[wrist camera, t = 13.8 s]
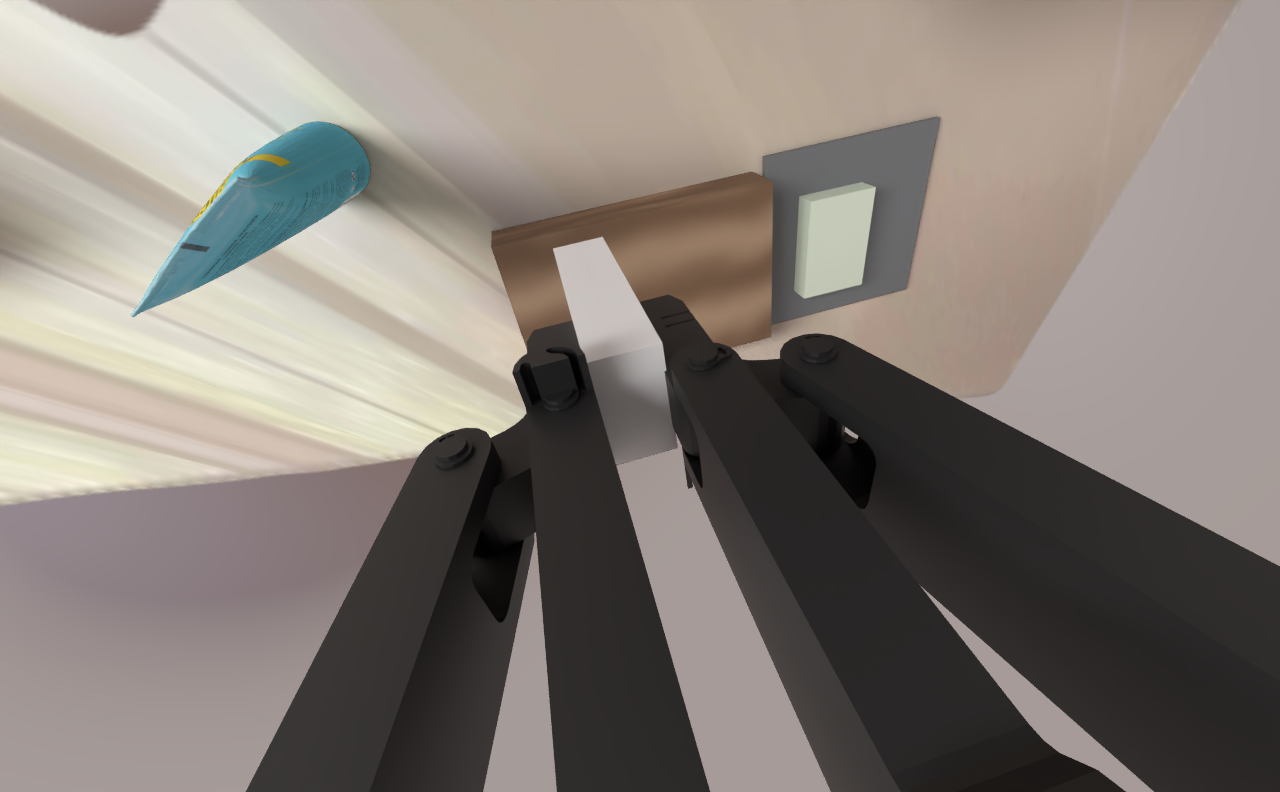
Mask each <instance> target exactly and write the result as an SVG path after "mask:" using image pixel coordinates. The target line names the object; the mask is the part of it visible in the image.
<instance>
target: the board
mask: <svg viewBox="0 0 1280 792" xmlns="http://www.w3.org/2000/svg"><path fill="white" fill-rule="evenodd" d="M772 228H773V182H772V181H770V180H768V179H766V178H764V177H762V176H760V175H757V174H755V173H753V172H748V173H744V174H740V175H735V176H731V177H727V178H722V179H718V180H714V181H709V182H705V183H701V184H696V185H692V186H688V187H683V188H679V189H675V190H670V191H666V192H662V193H657V194H653V195H649V196H644V197H640V198H636V199H631V200H627V201H623V202H618V203H614V204H610V205H605V206H601V207H597V208H592V209H588V210H584V211H579V212H575V213H571V214H566V215H562V216H558V217H553V218H549V219H545V220H540V221H536V222H532V223H527V224H523V225H519V226H514V227H510V228H506V229H501V230H497V231H493V232H492V246H491V248H492V251H493V254H494V256H495V259H496V262H497V265H498V268H499V271H500V274H501V276H502V279H503V282H504V285H505V288H506V291H507V294H508V296H509V299H510V302H511V305H512V308H513V311H514V314H515V316H516V319H517V322H518V325H519V328H520V331H521V334H522V336H523V339H524V342H525V345H526V348H527V343H526V342H527V340H528V339H529V337H530V335H531V334H532V332H533V330H536V329H540V328H544V327H548V326H552V325H556V324H560V323H564V322H568V321H572V317H571V314H570V310H569V306H568V302H567V299H566V295H565V291H564V288H563V284H562V280H561V277H560V273H559V269H558V266H557V262H556V258H555V254H554V251H553V248H557V247H562V246H566V245H570V244H574V243H579V242H583V241H587V240H591V239H595V238H600V237H603V239H604V240H605V242H606V244H607V246H608V247H609V249H610V251H611V253H612V254H613V256H614V258H615V260H616V262H617V263H618V265H619V267H620V269H621V270H622V272H623V274H624V276H625V278H626V279H627V281H628V283H629V285H630V286H631V288H632V290H633V292H634V294H635V295H636V297H637V299H638V301H639V302H641V301H645V300H649V299H653V298H657V297H661V296H665V295H668V294H669V295H671V296H673V297H675V298H677V299H680V300H682V301H683V302H684V303H685V305H686V306H687V308H688V309H689V310H690V312H691V313H692V314H693V316H694V317H695V319H696V320H697V321H698V322H699V324H700V325H701V326H702V328H703V329H704V330H705V332H706V333H707V335H708V336H709V337H710V339H711V340H712V341H713V343H720V344H723V345H726V346H729V347H730V348H732V347H735V346H739V345H743V344H747V343H750V342H754V341H758V340H762V339H765V338H769V337H771V301H772Z"/></svg>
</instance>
